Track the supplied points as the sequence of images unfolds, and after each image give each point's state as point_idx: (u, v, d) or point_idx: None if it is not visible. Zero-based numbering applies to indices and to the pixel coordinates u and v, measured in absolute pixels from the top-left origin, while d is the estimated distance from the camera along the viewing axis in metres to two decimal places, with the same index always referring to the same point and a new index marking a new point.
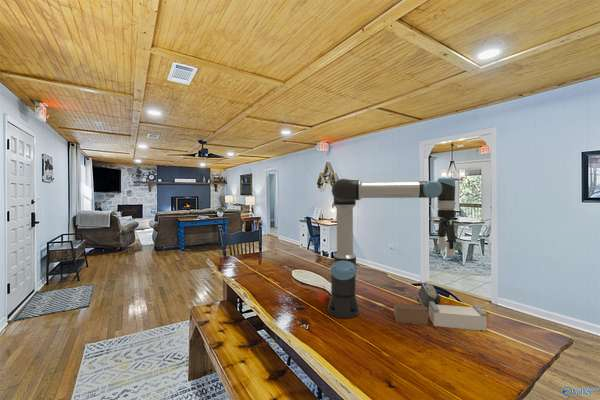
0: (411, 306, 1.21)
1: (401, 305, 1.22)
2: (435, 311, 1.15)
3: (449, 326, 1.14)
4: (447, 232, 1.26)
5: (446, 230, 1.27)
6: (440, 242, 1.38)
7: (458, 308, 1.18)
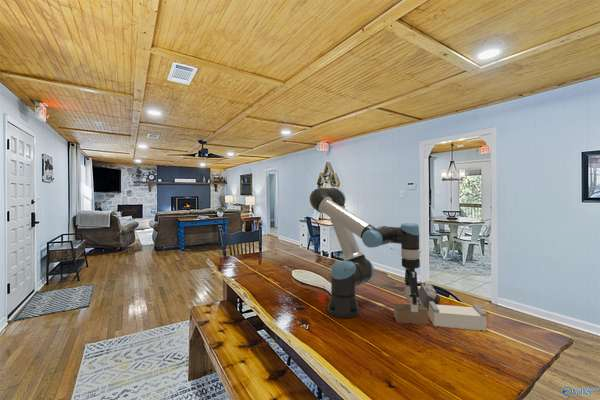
0: None
1: (401, 305, 1.22)
2: (435, 311, 1.15)
3: (449, 326, 1.14)
4: (410, 285, 1.15)
5: (409, 282, 1.16)
6: (406, 291, 1.27)
7: (458, 308, 1.18)
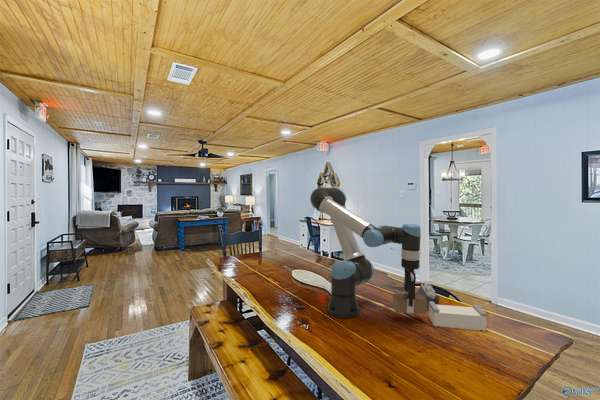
0: None
1: (400, 295, 1.22)
2: (435, 311, 1.15)
3: (449, 326, 1.14)
4: (408, 287, 1.17)
5: (407, 284, 1.18)
6: None
7: (458, 308, 1.18)
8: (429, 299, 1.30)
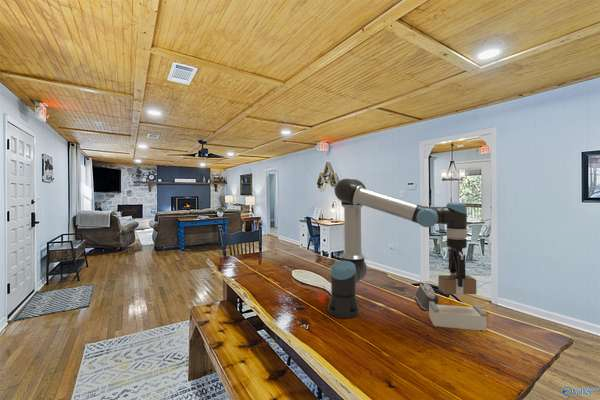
0: None
1: (447, 276, 1.18)
2: (435, 311, 1.15)
3: (449, 326, 1.14)
4: (457, 267, 1.13)
5: (456, 264, 1.14)
6: None
7: (458, 308, 1.18)
8: (429, 299, 1.30)
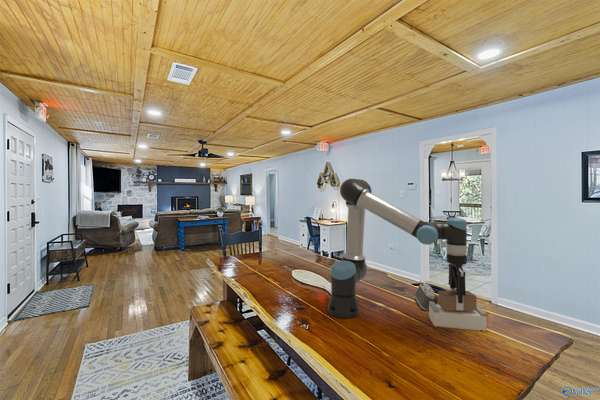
0: None
1: (447, 292, 1.18)
2: (435, 311, 1.15)
3: (449, 326, 1.14)
4: (457, 283, 1.14)
5: (456, 280, 1.14)
6: None
7: None
8: (428, 299, 1.30)
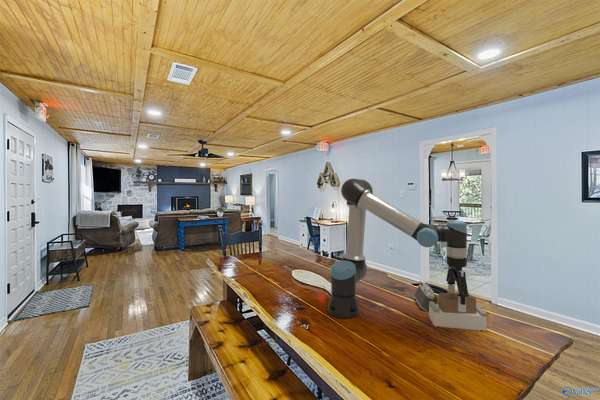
0: None
1: (447, 294, 1.18)
2: (435, 311, 1.15)
3: (449, 326, 1.14)
4: (458, 284, 1.12)
5: (457, 282, 1.13)
6: (449, 290, 1.24)
7: None
8: (428, 300, 1.29)
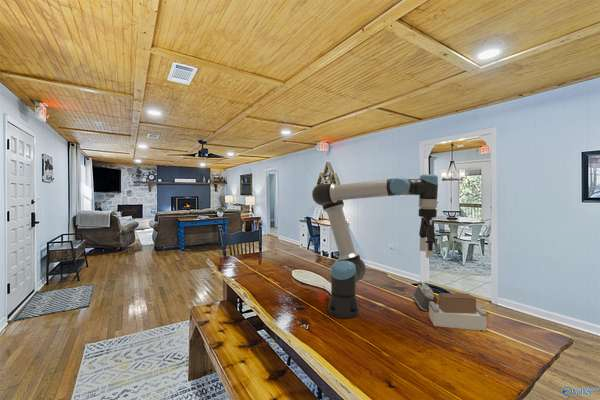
0: (457, 295, 1.18)
1: (447, 294, 1.18)
2: (435, 311, 1.15)
3: (449, 326, 1.14)
4: (427, 233, 1.18)
5: (426, 230, 1.19)
6: (421, 243, 1.30)
7: None
8: (428, 300, 1.29)
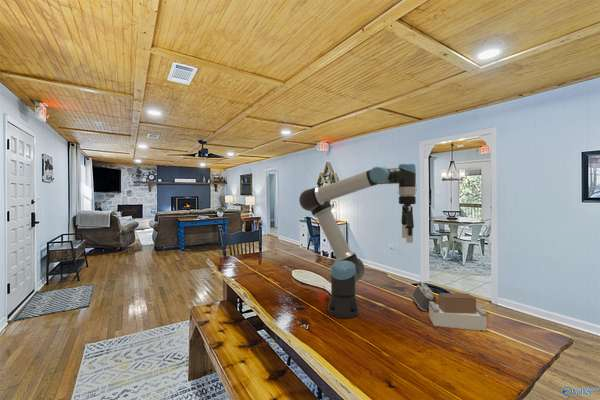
0: (457, 295, 1.18)
1: (447, 294, 1.18)
2: (435, 311, 1.15)
3: (449, 326, 1.14)
4: (406, 219, 1.23)
5: (406, 217, 1.24)
6: (403, 230, 1.35)
7: None
8: (427, 300, 1.29)
